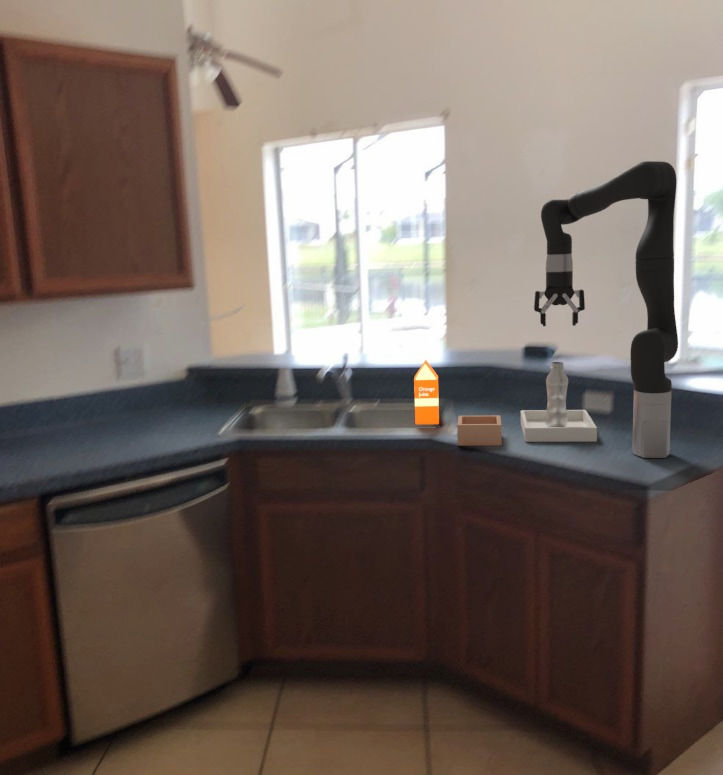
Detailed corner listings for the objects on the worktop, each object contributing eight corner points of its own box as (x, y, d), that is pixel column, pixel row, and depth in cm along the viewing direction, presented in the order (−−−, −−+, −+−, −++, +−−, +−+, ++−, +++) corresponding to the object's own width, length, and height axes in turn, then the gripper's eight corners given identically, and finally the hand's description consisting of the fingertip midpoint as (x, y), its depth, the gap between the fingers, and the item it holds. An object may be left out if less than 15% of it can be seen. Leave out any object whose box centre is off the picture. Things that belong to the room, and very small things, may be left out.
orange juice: (439, 418, 257) (437, 358, 253) (439, 424, 248) (437, 362, 244) (415, 418, 258) (414, 359, 254) (414, 424, 249) (413, 363, 245)
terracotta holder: (501, 445, 219) (501, 424, 218) (457, 445, 221) (457, 425, 220) (500, 434, 231) (500, 415, 230) (458, 434, 233) (458, 415, 232)
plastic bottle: (540, 427, 234) (541, 362, 230) (559, 424, 236) (560, 360, 232) (552, 431, 228) (553, 365, 224) (572, 429, 230) (573, 363, 226)
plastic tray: (596, 441, 219) (596, 427, 218) (525, 441, 222) (525, 428, 221) (585, 422, 242) (585, 409, 242) (520, 422, 245) (520, 410, 245)
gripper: (535, 271, 221) (535, 327, 224) (586, 269, 219) (585, 326, 221) (533, 270, 228) (533, 325, 231) (582, 268, 226) (582, 323, 229)
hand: (559, 325), depth 226 cm, fingers open, 8 cm apart
